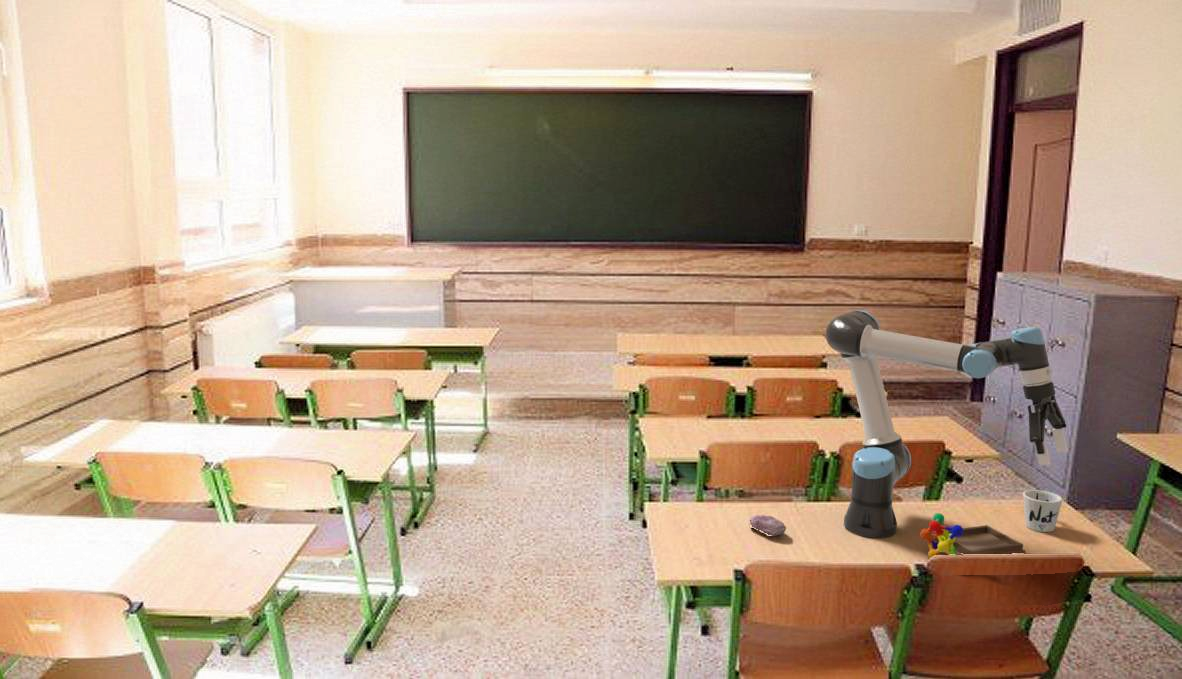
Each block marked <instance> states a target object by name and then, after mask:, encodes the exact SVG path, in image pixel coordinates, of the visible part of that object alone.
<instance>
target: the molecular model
mask: <svg viewBox="0 0 1182 679" xmlns="http://www.w3.org/2000/svg"><path fill="white" fill-rule="evenodd" d="M944 522H945V516H944V514H942V513H940V512H936V513H935V514H934V515H933V516H932V521H930V522H929V524H928V525H929V527H928V528H923V529H921V531H920V533H919V535H920V537H921V539H922V540H925V541H926V543H927V546H928V548H929V551H928V554H927V556H928V558H929V559H930V557H932V556H934V555H941V553H946V554H947V555H948V554H956V555H957V553H956V552H957V551H955V549H954V546H953V543H954V542H955V536H960V535H962V534H963V528H964V527H962V526H961V524H960V525H959V524H953V526H945V524H944ZM947 530H949V531H952V534H951V533H948V531H947ZM932 532H935V533H932ZM940 533H941V534H942V535H943V536H942V535H941V534H940ZM933 538H934V539H935V538H938V539H939V541H935V540H934V539H933ZM943 539H944V541H943ZM949 545H950V547H949Z"/></svg>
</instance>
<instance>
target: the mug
mask: <svg viewBox="0 0 1182 679" xmlns="http://www.w3.org/2000/svg"><path fill="white" fill-rule="evenodd" d="M1022 498H1023V499H1022V500H1023V510H1024V511H1023V512H1024V521H1025V527H1026V528H1028V529H1030V530H1032V531H1035V532H1039V533H1051V532H1053V531H1054V530H1055V527H1056V525H1057V521H1058V517H1059V514H1060V511H1061V507H1062V504H1063V497H1062V496H1060V495H1058V494H1057V493H1054V492H1052V491H1046V490H1040V489H1032V490H1031V489H1030V490H1025V491H1023V493H1022Z"/></svg>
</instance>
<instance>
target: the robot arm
mask: <svg viewBox="0 0 1182 679" xmlns="http://www.w3.org/2000/svg"><path fill="white" fill-rule="evenodd" d="M880 328H881V326H880V324H879V322H878V320H877V318H876V317H875V316H874V315H873V314H871V313H870V312H868V311H865V310H851V311H849V312H846V313H844V314H843V313H842V314H840V315H838V316H836V317H834V318H833V319H831V320H830V321H829V323H828V325H827V327H826V329H825V339H826V342H827V344H828V345H829V347H830V348H831V349H832V350H834V351H835V352H837V353H840V355H841V358H842V359H843V360H844V361H845V362H847V363H848V367H849V371H850V376H851V380H852V385H853V387H854V388H853V389H854V393H855V395H856V400H857V405H858V407H859V408H858V409H859V413H860V417H861V421H862V425H863V429H864V434H865V438H864V440H863V441H862V448H861V449H859V450H857V451H856V452H855V453H854V455H853V460H852V465H851V466H852V478H851V495H850V496H851V498H850V503H849V504H848V505H849V506H848V507H847V510H846V513H845V515H844V518H843V526H845V527H844V528H845V529H846V530H847V531H849V532H850V531H851V532H850V533H852V532H853V534H855V533H856V535H858V536H863V537H866V538H867V537H868V538H876V539H877V538H880V539H881V538H887V537H891V536H894V535H895V534H896V533H897V532H898V521H897V518H896V514H895V510H894V509H893V495H894V485H895V484H897V482H899V481H900V480H901V479H903V478H904V477H905V476H906V474H908V472H909V469H910V467H911V465H912V456H911V452H910V450H909V449H908V447H907V446H906V445H905V444H904V442H903V439H902V435H900V434H899V433H897V432H896V431H895V427H894V424H893V420H892V416H891V412H890V407H889V404H888V399H887V394H886V390H885V386H884V382H883V378H882V375H881V374H882V373H881V371H880V366H879V361H878V358H877V357H881V358H885V359H891V360H897V361H901V362H907V363H912V364H917V365H921V366H922V365H923V366H928V367H934V368H937V369H938V368H939V369H944V370H949V371H953V372H960V373H964V374H966V375H967V376H969V377H970V378H974V379H982V378H985V377H988V376H990V375H991V374H992V373H994V371H995V370H996V369H997V368H1000V367H1007V366H1014V365H1017V366H1018V372H1019V376H1020V382H1021V384H1022V385H1023V387H1022V390H1023V394H1024V398H1025V399H1026V400H1031V402H1032V405H1029V404H1028V405H1027V410H1028V423H1029V424H1028V428H1029V429H1028V430H1029V434H1028V435H1029V437H1028V438H1029V442H1030V443H1034V448H1035V453H1036V457H1037V461H1038V462H1037V463H1038V466H1051V465H1052V464H1051V458H1050V454H1049V451H1048V446H1047V441H1046V440H1045V428H1046V420H1047V421H1048V422H1049V424H1050V426H1052V429H1051V431H1052V436H1053V442H1054V446H1055V450H1056V452H1057V453H1064V452H1065V453H1067V452H1069V450H1068V446H1067V445H1068V444H1067V441H1066V435H1065V432H1064V429H1067V423H1066V421H1065V417H1064V416H1063V414H1062V412H1061V409H1060V406H1059V405H1058V402H1057V399H1056V396H1055V395H1056V389H1055V385H1054V382H1053V381H1052V380H1053V377H1052V373H1053V370H1052V369H1051V368H1050V363H1049V358H1048V352H1047V348H1046V343H1045V342H1046V341H1045V340H1044V336H1043V333H1042V330H1041V328H1039V327H1038V326H1030V327H1023V328H1017V329H1015V330H1012V331H1011V334H1010V337H1009V338H1003V339H998V340H990V341H982V342H981V341H979V342H977V343H972V344H969V345H966V344H962V343H961V344H960V343H956V342H949V341H944V340H939V339H932V338H928V337H927V338H926V337H921V336H915V335H910V334H903V333H899V332H898V333H897V332H892V331H887V330H881V329H880Z"/></svg>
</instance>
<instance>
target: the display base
mask: <svg viewBox="0 0 1182 679" xmlns="http://www.w3.org/2000/svg"><path fill="white" fill-rule="evenodd" d="M962 528H963V534H962V535H960V536H955V542H954V543H953V546H954V549H955V552H957V553H959V554H960V553H963V554H1012V553H1025V554H1026V550H1025V549H1024V543H1021V542H1020V541H1018V540H1016V539H1014V538H1012V537H1010V536H1008V535H1006V534H1005V533H1003V532H1001V531H999V530H997V529H995V528H993V527H991V526H990V525H987V524H985V525H978V526H970V527H969V526H968V527H962ZM947 531H948V533H951V534H952V531H949V530H947ZM940 534H941V533H940ZM941 535H942V534H941ZM942 536H943V535H942ZM934 539H935V540H937V542H939V539H938V538H934ZM943 541H944V539H943ZM949 548H950V545H949Z"/></svg>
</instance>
